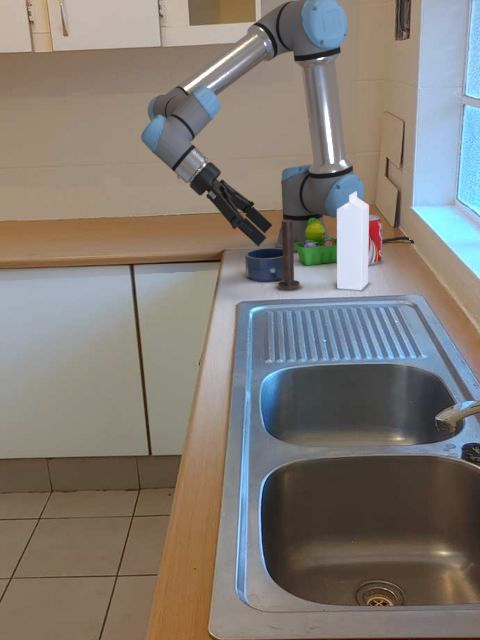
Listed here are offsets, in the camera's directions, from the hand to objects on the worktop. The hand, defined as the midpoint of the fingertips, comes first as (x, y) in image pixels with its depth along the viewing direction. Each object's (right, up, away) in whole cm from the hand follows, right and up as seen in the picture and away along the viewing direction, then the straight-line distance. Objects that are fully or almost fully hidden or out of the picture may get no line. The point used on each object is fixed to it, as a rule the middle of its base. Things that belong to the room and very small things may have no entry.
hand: (265, 235), depth 178 cm
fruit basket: (+15, -2, +26) cm, 30 cm away
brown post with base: (+6, -12, +4) cm, 14 cm away
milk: (+21, -12, +2) cm, 24 cm away
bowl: (+1, -8, +15) cm, 17 cm away
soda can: (+28, -3, +21) cm, 36 cm away
